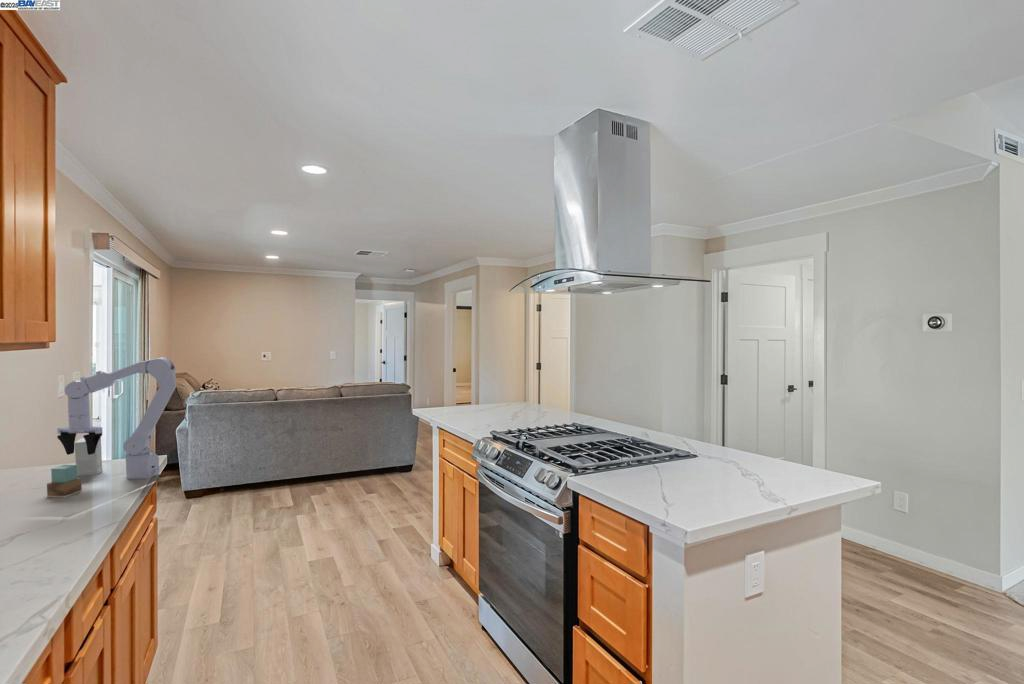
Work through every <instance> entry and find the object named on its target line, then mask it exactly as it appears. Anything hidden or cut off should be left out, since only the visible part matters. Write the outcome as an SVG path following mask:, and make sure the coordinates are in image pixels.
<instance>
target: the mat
mask: <svg viewBox="0 0 1024 684" xmlns="http://www.w3.org/2000/svg"><path fill="white" fill-rule="evenodd" d="M84 490H85V488H84V489H83V488H82V490H80V491H78V492H75V493H72V494H70V495H67V496H47V495H45V496H44V497H45V498H47V497H50V498H51V497H53V498H57V497H59V498H66V497H69V496H71V495H75V494H77V493H80V492H81V491H84Z"/></svg>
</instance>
